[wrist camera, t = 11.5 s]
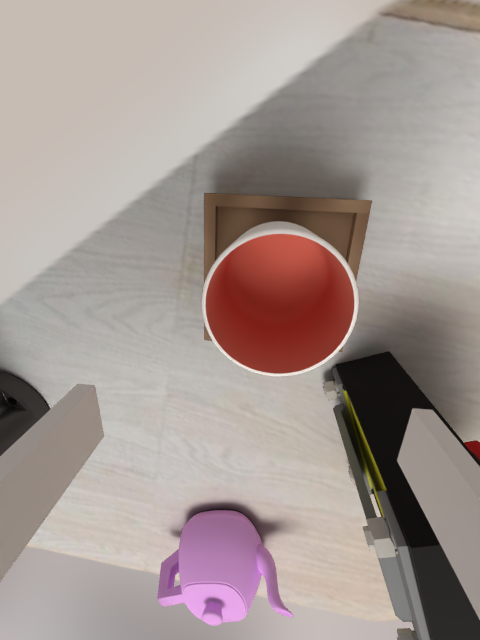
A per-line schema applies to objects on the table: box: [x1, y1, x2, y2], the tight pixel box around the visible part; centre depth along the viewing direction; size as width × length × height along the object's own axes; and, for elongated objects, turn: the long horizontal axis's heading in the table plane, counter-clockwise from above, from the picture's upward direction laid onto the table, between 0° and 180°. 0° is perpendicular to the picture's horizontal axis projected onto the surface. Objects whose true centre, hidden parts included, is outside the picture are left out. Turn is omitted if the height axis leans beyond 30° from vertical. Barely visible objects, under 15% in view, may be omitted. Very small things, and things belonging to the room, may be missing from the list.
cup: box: [202, 221, 359, 376], centre depth 23 cm, size 10×10×10 cm
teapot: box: [158, 510, 293, 625], centre depth 42 cm, size 13×20×11 cm
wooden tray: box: [204, 193, 372, 352], centre depth 29 cm, size 14×14×4 cm
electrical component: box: [323, 352, 480, 640], centre depth 27 cm, size 18×10×20 cm, turn 20°
